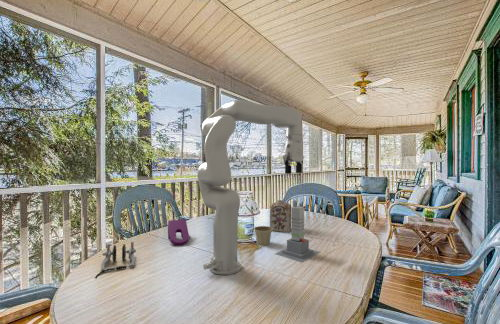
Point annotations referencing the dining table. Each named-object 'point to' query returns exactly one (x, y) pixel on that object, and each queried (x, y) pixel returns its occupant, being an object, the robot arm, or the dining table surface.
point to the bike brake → (113, 253)
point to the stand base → (298, 250)
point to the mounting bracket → (176, 227)
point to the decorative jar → (280, 216)
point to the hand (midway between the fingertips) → (293, 173)
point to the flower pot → (263, 235)
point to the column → (297, 223)
